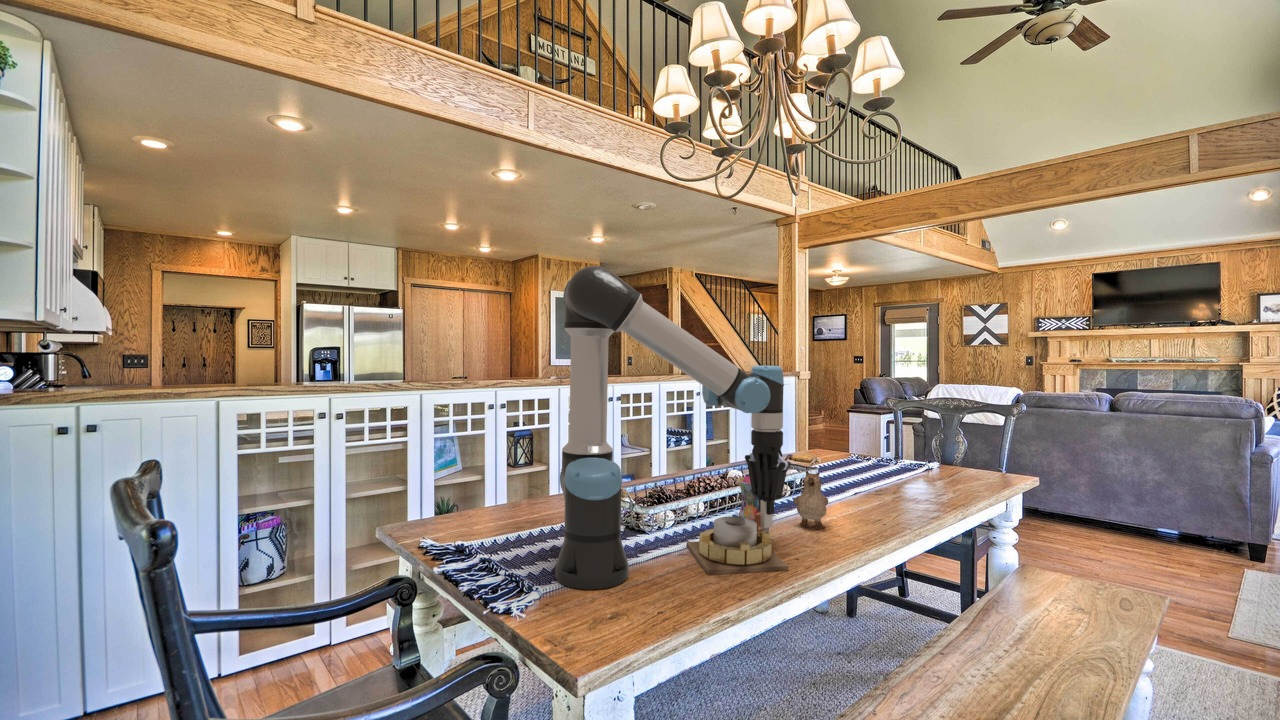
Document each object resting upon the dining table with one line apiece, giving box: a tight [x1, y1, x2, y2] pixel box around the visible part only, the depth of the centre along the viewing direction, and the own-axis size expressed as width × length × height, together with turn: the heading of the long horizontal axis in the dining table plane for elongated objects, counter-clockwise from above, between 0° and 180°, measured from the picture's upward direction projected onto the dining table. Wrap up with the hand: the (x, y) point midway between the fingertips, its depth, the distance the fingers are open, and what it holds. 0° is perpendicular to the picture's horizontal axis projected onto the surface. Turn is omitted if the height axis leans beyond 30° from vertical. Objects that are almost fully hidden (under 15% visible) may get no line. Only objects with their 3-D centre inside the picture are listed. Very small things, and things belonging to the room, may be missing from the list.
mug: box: [737, 476, 759, 521], centre depth 168 cm, size 12×9×11 cm
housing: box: [685, 516, 789, 576], centre depth 136 cm, size 18×19×9 cm
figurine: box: [792, 470, 829, 530], centre depth 160 cm, size 9×10×15 cm
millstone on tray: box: [698, 512, 773, 565], centre depth 139 cm, size 24×16×6 cm
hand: (766, 526), depth 145 cm, fingers closed
